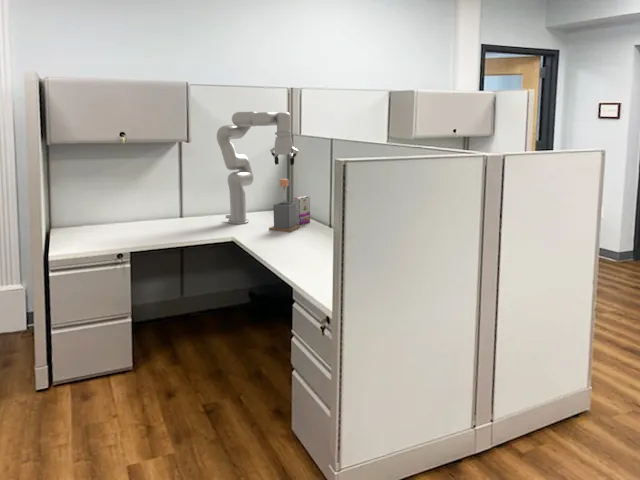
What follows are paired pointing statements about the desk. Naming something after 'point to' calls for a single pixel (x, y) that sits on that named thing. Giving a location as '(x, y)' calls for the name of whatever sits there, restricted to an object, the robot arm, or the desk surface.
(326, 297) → the desk surface
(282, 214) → the press housing
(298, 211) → the candy bar box
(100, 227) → the desk surface
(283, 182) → the plunger
